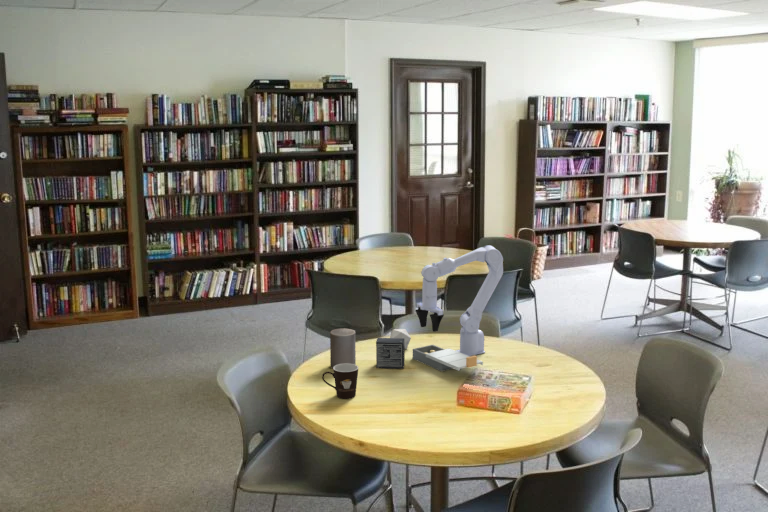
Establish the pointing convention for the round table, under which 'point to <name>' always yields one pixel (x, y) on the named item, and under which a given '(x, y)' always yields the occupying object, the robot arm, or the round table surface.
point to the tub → (420, 356)
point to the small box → (390, 353)
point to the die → (401, 336)
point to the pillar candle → (342, 347)
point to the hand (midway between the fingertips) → (429, 328)
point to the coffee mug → (344, 380)
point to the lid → (454, 359)
